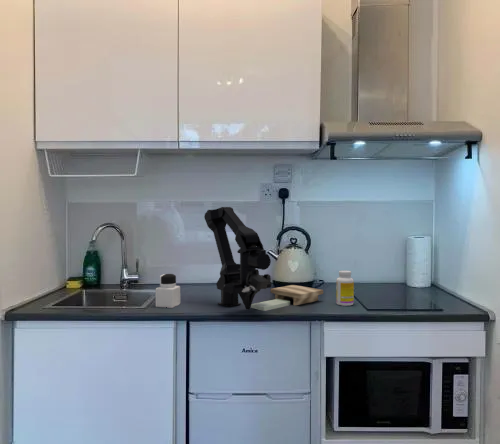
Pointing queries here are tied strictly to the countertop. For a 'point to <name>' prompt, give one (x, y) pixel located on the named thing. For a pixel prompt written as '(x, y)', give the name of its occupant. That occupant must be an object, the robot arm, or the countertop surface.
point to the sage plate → (270, 304)
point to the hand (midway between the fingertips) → (247, 309)
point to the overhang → (297, 294)
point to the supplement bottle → (345, 289)
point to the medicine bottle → (167, 292)
